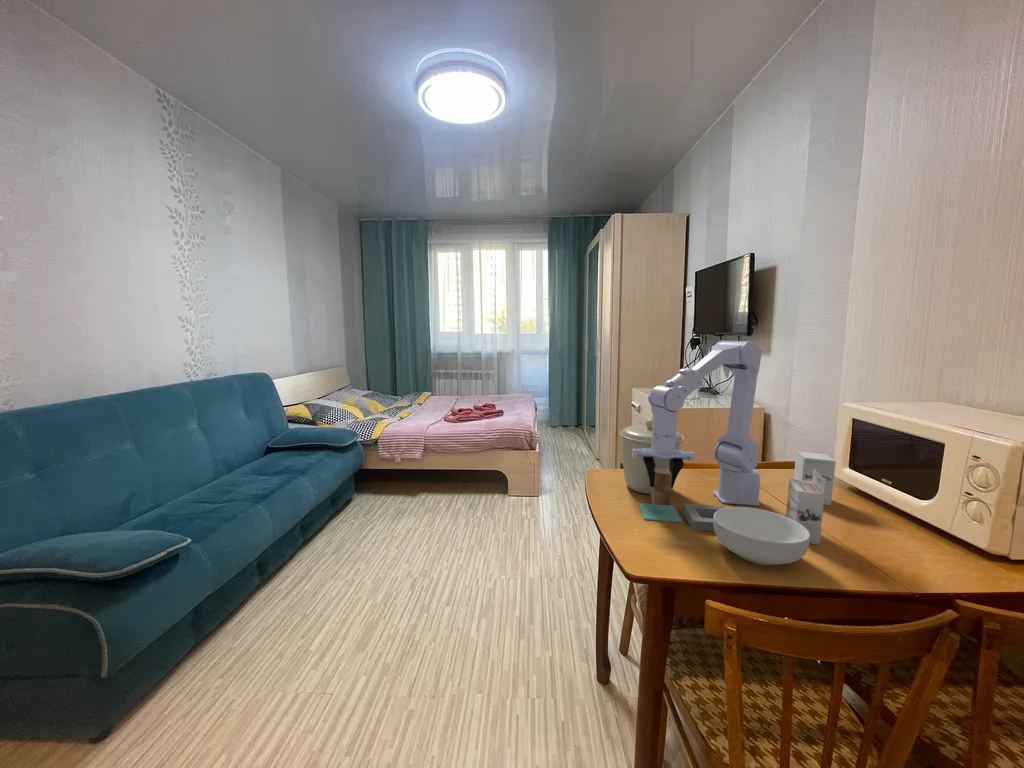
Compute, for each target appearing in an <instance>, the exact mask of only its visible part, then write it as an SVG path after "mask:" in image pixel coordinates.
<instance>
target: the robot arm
mask: <svg viewBox="0 0 1024 768" xmlns="http://www.w3.org/2000/svg"><path fill="white" fill-rule="evenodd" d="M762 352H763V350H762V349H761V347H760V346H759V344H758V343H757V342H756V341H754V340H747V341H745V340H744V341H742V340H723V339H722V340H719V341H717V343H715V344H714V345H712V346H711V349H710V351H709V352H708V354H706V355H705V356H704V357H703V358H702V359H701V360H699V362H697V363H696V364H695V365H694V366H693V367H692V368H688V367H686V368H681V369H679V370H678V373H676V374H675V375H674V376H673V377H672V378H670V379H669V380H667V381H665V383H664V384H663V385H657V386H655V387H653V389H652V390H651V391H650V393H649V395H648V396H647V398H648V402H649V403H648V404H649V405H650V407H651V409H650V410H651V414H652V419H653V421H652V440H651V448H642V449H633V451H632V456H633V458H638V457H640V458H643V461H644V463H645V466H646V469H647V472H648V476H649V484H650V486H651V487H654V471H655V462H654V459H653V458H658V459H669V471H670V472H671V474H672V484H671V488H672V489H674V485H675V483H676V479H677V478H678V476H679V473H680V472H681V470H682V469H683V467H684V465H685V462H684V461H690V462H695V453H694V452H693V451H687V450H682V449H681V450H675V448H676V431H677V432H678V430H677V427H678V413H679V410H681V409H682V408H683V406H684V403H685V401H686V399H687V397H689V396H690V395H691V394H692V393H693V392H695V391H696V390H697V389H699V387H701V386H702V383H703V381H702V380H703V379H704V378H706V377H707V376H708V375H710V374H712V373H713V372H714V371H716V370H717V369H719V368H720V367H724V368H725V369H727V370H728V371H730V373H732V375H733V376H734V377H733V384H732V391H731V392H732V393H731V399H730V407H729V415H728V421H727V429H726V432H724V433H722V434H721V435H719V436H718V438H717V443H716V445H715V447H714V451H713V456H714V459H715V460H716V461H717V465H718V466H719V473H718V474H719V477H718V489H717V490H712V493H713V494H714V495H715V497H716V498H717V499H718V500H719V502H721V503H722V504H732V505H745V506H746V505H747V506H760V505H761V504H760V502H759V501H760V499H759V497H760V489H761V487H760V486H761V478H760V473H759V471H758V470H756V469H755V468H757V466H758V463H759V461H760V460H759V452H758V447H759V444H758V443H757V442H756V440H754V439H753V438H752V436H751V435H750V432H751V423H752V417H753V411H754V405H755V404H754V403H755V396H756V390H757V384H758V383H757V381H758V376H759V373H760V366H761V359H762Z"/></svg>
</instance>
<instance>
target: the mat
mask: <svg viewBox="0 0 1024 768" xmlns="http://www.w3.org/2000/svg"><path fill="white" fill-rule="evenodd" d="M638 506H639V509H640V511H641V515H642V518H643V520H645V521H657V522H670V523H671V522H672V523H681V524H682V523H684V521H683V519H682V517H681V516H680V514H679V511H678V510H677V509H676V506H675V505H671V504H670V506H669V505H656V504H653V503H640V502H639V503H638Z"/></svg>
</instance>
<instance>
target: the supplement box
mask: <svg viewBox="0 0 1024 768" xmlns="http://www.w3.org/2000/svg"><path fill="white" fill-rule="evenodd" d="M794 461H795V462H794V473H793V479H795V480H803V481H811V482H812V480H813V469H815V470H816V471H817V472H818V473H819V474H820V475H821V476H822V477H823V478H824V479H825V480H826V483H825V493H824V494H825V495H824V505H825V506H831V505H832V499H833V488H834V480H835V472H836V463H837V462H836V460H835V459H834V458H832V457H831V456H830V455H829V454H826V453H817V452H808V451H801V450H800V451H799V450H798V451H796V453H795V460H794ZM817 480H818V481H819V482H820V484H821V481H820V480H819V478H817Z"/></svg>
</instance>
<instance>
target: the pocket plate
mask: <svg viewBox="0 0 1024 768" xmlns="http://www.w3.org/2000/svg"><path fill="white" fill-rule="evenodd" d="M723 508H726V506H724V505H723V506H722V505H709V504H696V503H682V509H681V510H682V514H683V515H684V518H686V520H687V522H688V523H689V524H690V525H689V526H691V529H692V531H701V532H702V531H704V532H714V533H715V531H714V526H713V515H714V513H715V512H716V511H718V510H720V509H723Z"/></svg>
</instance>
